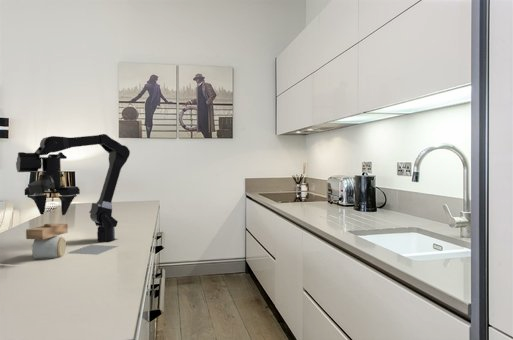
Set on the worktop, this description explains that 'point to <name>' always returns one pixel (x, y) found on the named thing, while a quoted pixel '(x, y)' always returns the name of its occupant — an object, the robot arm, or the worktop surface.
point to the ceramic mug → (49, 248)
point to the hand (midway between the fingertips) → (52, 214)
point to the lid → (46, 231)
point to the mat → (93, 249)
